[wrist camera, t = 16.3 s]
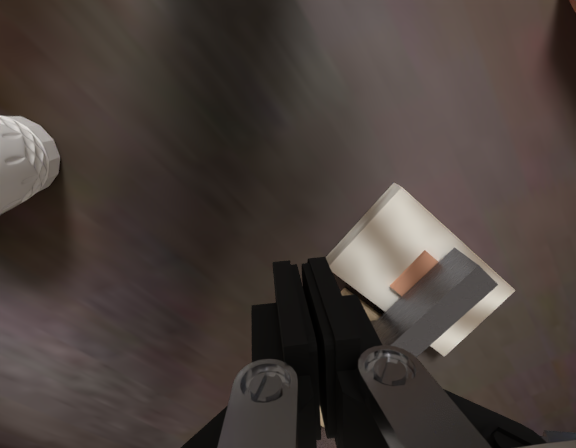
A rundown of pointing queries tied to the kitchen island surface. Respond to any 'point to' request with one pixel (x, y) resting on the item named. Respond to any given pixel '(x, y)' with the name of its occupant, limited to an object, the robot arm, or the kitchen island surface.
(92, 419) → the kitchen island surface
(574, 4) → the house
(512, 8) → the kitchen island surface
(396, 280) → the door and jamb
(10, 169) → the white cup
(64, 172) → the kitchen island surface
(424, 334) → the bar
